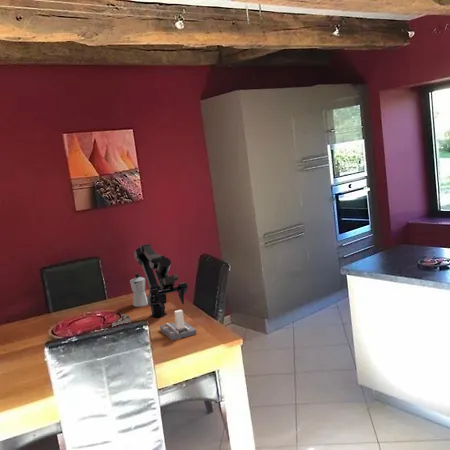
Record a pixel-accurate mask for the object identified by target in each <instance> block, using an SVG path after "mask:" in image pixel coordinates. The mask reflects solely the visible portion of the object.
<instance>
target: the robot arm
mask: <svg viewBox="0 0 450 450" xmlns="http://www.w3.org/2000/svg"><path fill="white" fill-rule="evenodd" d="M133 254H134V255H133V256H134V259H135V260H136V262H137V264H139V265H140V266H141V267H142V269H143V274H144V275H145V280H146V282H147V285H148V287H149V291H148V297H147V302H148V304H147V306H149V307H150V310H151V314H150V315H149V317H151V318H157V319H160V318H162V317H164V316H166V315H167V314H168V313H167V312H166V306H165V304H167V294H169V293H175V292H177V293H178V297H179V300H180V302H181V304H182V306H184V304H185V298H184V297H185V294H186V293H187V291H188V288H189V284H188V283H187V282H186V281H185V282H180V283H178V285H177V286H175V283H176V282H177V281H179V276H178V274H177V273H175V274H172V275H171V276H170V275H169V271H170V268H171V265H172V261H171V259H170V258H168V257H166V256H165V255H162V254H157V252H156V251H155V250H154V249H153V248H152V245H151V244H150V243H146V244H141V245H140V246H139V247H138V248H137V249H135V251H134V252H133ZM154 270H155V272H154Z"/></svg>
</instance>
